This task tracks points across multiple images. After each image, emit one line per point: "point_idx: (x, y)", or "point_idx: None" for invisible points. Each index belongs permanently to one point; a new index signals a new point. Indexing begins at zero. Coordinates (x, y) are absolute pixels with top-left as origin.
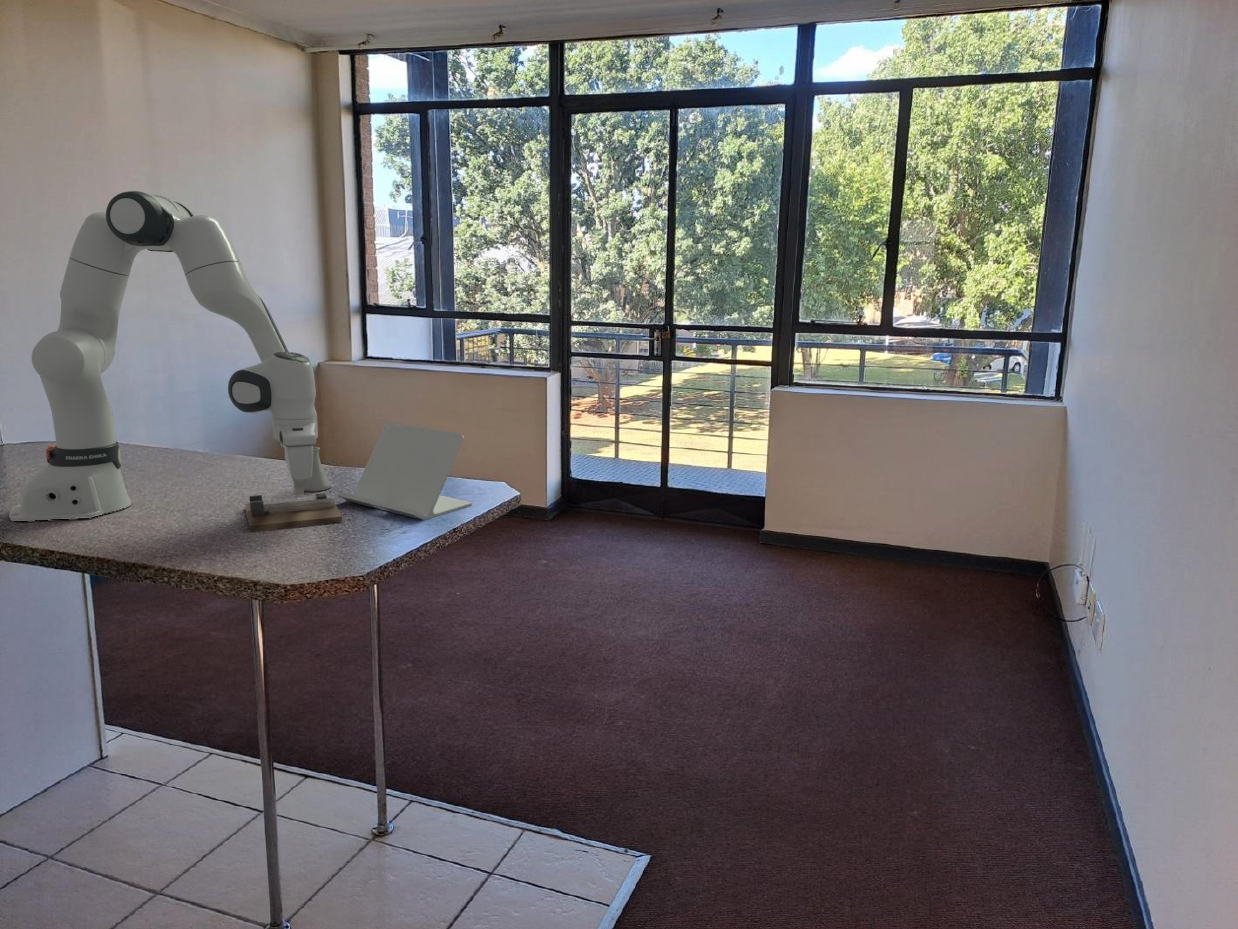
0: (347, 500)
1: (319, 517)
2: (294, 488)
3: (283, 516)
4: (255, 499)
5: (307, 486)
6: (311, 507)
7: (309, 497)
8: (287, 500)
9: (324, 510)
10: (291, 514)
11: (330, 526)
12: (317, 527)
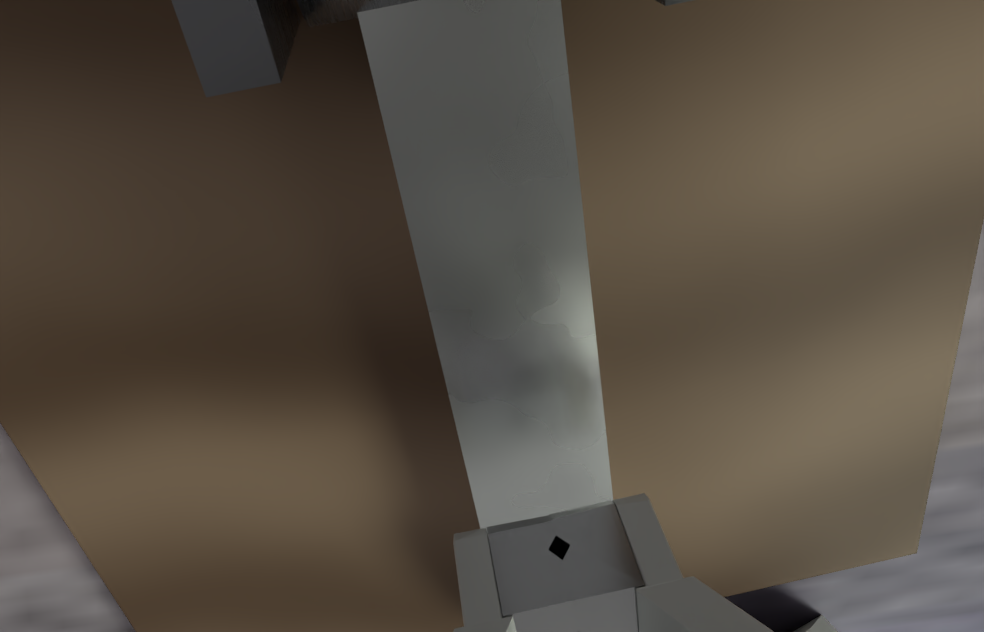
0: (803, 626)
1: (159, 591)
2: (578, 553)
3: (215, 278)
4: None
5: None
6: None
7: None
8: (548, 350)
9: (412, 588)
10: (300, 348)
11: (61, 626)
12: (21, 550)
